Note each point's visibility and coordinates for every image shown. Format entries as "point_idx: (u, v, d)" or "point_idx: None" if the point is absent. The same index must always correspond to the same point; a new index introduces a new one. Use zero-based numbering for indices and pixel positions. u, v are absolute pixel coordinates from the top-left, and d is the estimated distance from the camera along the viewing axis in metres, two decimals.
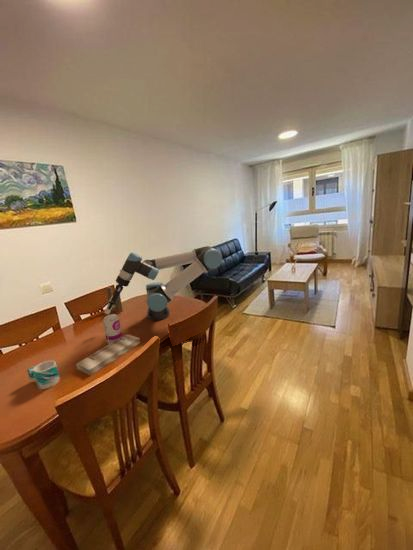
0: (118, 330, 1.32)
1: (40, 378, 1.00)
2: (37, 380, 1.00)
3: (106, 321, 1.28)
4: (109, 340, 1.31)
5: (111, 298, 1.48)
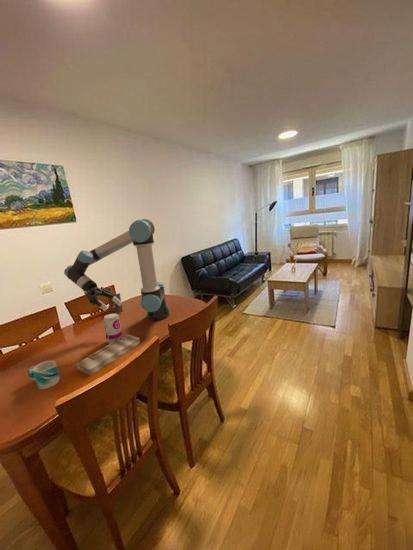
0: (118, 329, 1.32)
1: (40, 378, 1.00)
2: (37, 380, 1.00)
3: (106, 320, 1.29)
4: (109, 339, 1.31)
5: (114, 301, 1.44)
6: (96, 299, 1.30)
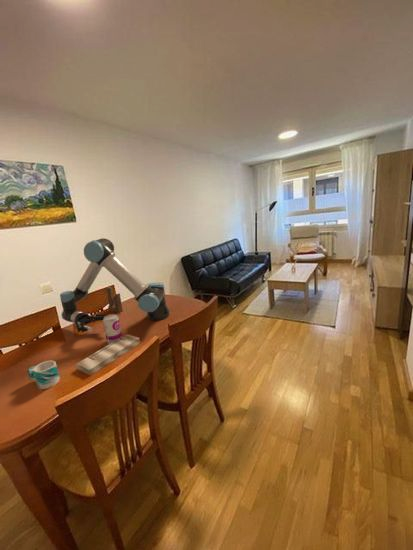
0: (118, 330, 1.32)
1: (40, 378, 1.00)
2: (37, 380, 1.00)
3: (106, 321, 1.28)
4: (109, 340, 1.31)
5: None
6: (81, 326, 1.34)
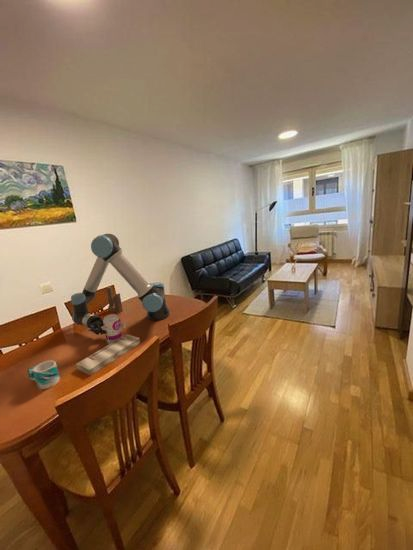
0: (118, 330, 1.32)
1: (40, 378, 1.00)
2: (37, 380, 1.00)
3: (106, 321, 1.28)
4: (109, 340, 1.31)
5: None
6: (100, 328, 1.30)
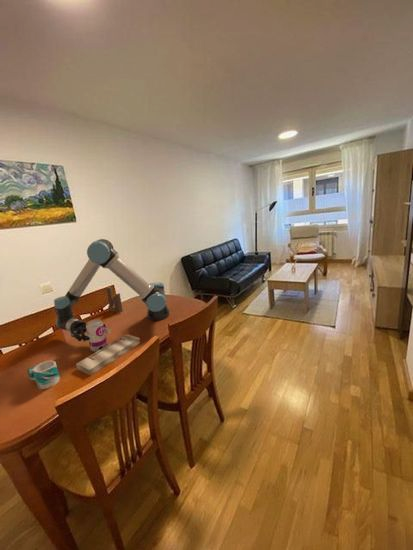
0: (102, 336, 1.25)
1: (40, 378, 1.00)
2: (37, 380, 1.00)
3: (89, 327, 1.22)
4: (92, 347, 1.24)
5: None
6: (83, 334, 1.23)
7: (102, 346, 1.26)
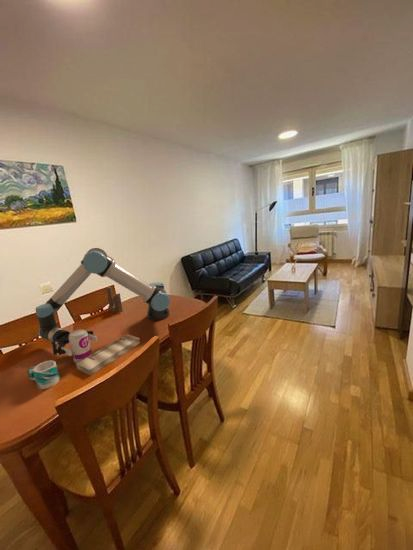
0: (86, 347, 1.16)
1: (40, 378, 1.00)
2: (37, 380, 1.00)
3: (71, 338, 1.13)
4: (76, 359, 1.15)
5: (90, 339, 1.24)
6: (58, 348, 1.13)
7: None
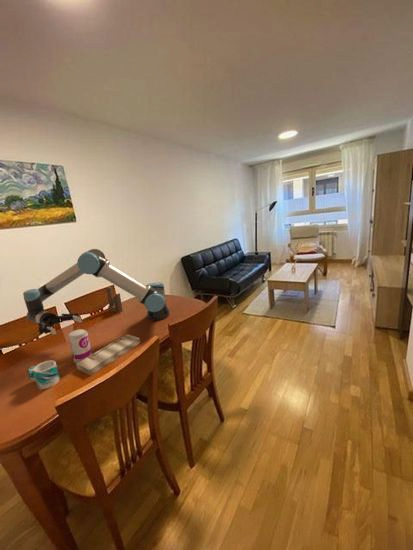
0: (86, 347, 1.16)
1: (40, 378, 1.00)
2: (37, 380, 1.00)
3: (71, 338, 1.13)
4: (76, 359, 1.15)
5: (75, 320, 1.31)
6: (44, 327, 1.20)
7: None
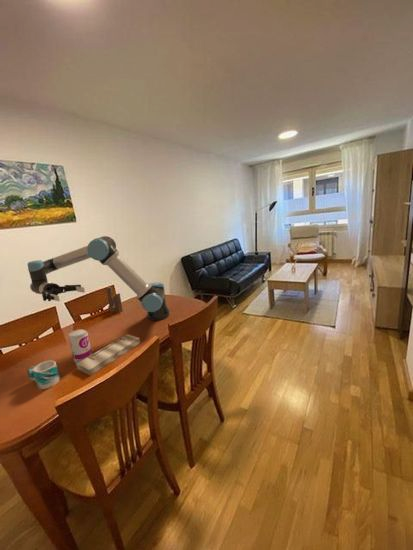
0: (86, 348, 1.16)
1: (40, 378, 1.00)
2: (37, 380, 1.00)
3: (71, 338, 1.13)
4: (76, 359, 1.15)
5: (78, 290, 1.33)
6: (48, 294, 1.22)
7: None
